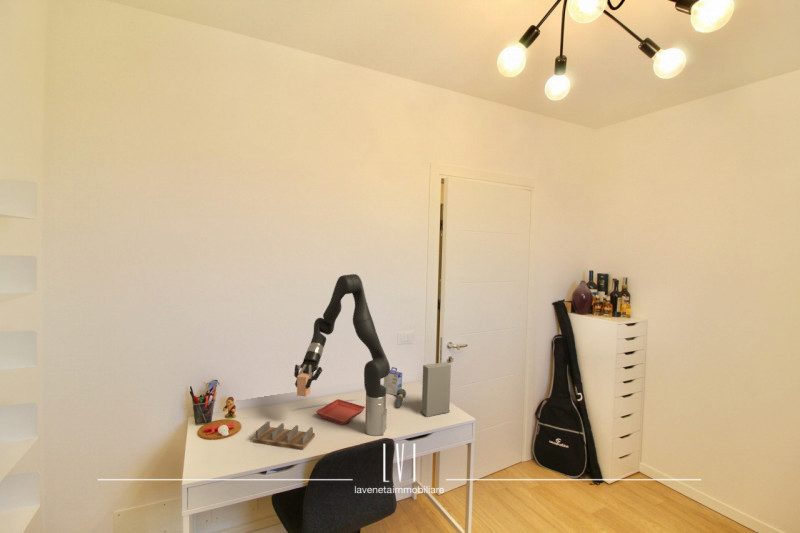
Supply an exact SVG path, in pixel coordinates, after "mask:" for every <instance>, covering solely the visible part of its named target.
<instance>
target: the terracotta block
mask: <svg viewBox="0 0 800 533" xmlns="http://www.w3.org/2000/svg"><path fill="white" fill-rule="evenodd" d="M308 379H309V374H304V373H303V374H300V375H299V376H297V378H296V380H297V387H296V396H298V397H305V398H306V397H307V396H309V395H310V394H311V386H310V387H309V388H308V389H307V388H306V384H307V381H308Z"/></svg>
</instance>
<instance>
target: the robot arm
mask: <svg viewBox="0 0 800 533" xmlns="http://www.w3.org/2000/svg"><path fill="white" fill-rule="evenodd" d="M350 294H352V298H353V301H354V310H353V315H352V325H353V328H354V330H355V333H356V336H357V337H358V339H359V340H360V341H361V342H362V343H363V344H364V345H365V346H366V348H367V349H368V351H369V353H370V357H371V359H372V360H369V361H367V362H366V363H365V365H364V369H363V378H364V380H363V382H364V383H363V384H364V390H365V415H364V417H365V421H364V422H365V425H364V429H365V430H364V431H365V433H366V435H369V436H375V437H376V436H383V435H384V434H385V433H386V430H387V413H388V411H387V410H388V409H387V403H386V402H387V393H386V388H385V387H384V385H382V384H381V379H384V377H386V376H388V374H389V372H390V370H391V367H390V363H389V361H388V357H387V355H386V354H385V351H384V349H383V346H382V344H381V341H380V338H379V336H378V334H377V329H376V326H375V324H374V323H375V322H374V320H373V317H372V315H371V312H370V309H369V305H368V302H367V298H366V295H365V289H364V286H363V281H362V279H361V277H360V276H359V275H358V274H356V273H353V274H343V275H340V276H339V277H338V278H337V281H336V283H335V286H334V289H333V292H332V294H331V297H330V302H329V303H328V305H327V307H326V309H325V311H324V313H323V315H322V317H318V318H316V319H315V321H314V323H313V335H312V338H311V340H310V343H309V346H308V347H307V350H306V352H305V355H304V358H303V361H302V363H301V364H299V365H298V364H295V367H294V373H293V376H294V377H295V379H296V380H295V383H294V385H295V388H297V376H299V375H300V374H303V373H304V374H309V379H308V381H307V384H306V388H307V389H308V388H309V387H310V388H311V385H312V382H313V381H317V380H318V378H319V377H320V375H321V374H322V373H323V368H322V367H321V366H319V364H320V361H321V357H322V355H323V352H324V347H325V344H326V342H327V337H326V336H325V335H327V336H329V335H331V334H333V333H334V329H335V323H336V320H337V318H338V317H339V315H340V313H341V312H342V299H343V298H344V297H345V296H346V295H350ZM314 372H315V373H314Z"/></svg>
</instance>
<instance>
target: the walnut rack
mask: <svg viewBox="0 0 800 533" xmlns="http://www.w3.org/2000/svg"><path fill="white" fill-rule="evenodd" d="M270 422H271V421H266V422H265V423H264V424H262V425H261V426H260V427H259V428H258V429H256V430H255V437H254V438H253V439H252V441H253V443H254V444H261V445H267V446H274V447H278V448H279V447H280V448H287V449H291V450H292V449H294V450H300V451H301V450H302V451H304V449H306V447H307V446H308V445H309V444H310V443H311V442H312V441H313V439H314V438H315V436H316V434H315V432H314V428H313V427H312V426H311V427H309V428H308V430H307V431H304V430H303V431H302V430H299V425H298V424H296V425H294V426H293V427H292V428H291V429H289V428H285V423H283V422H282V423H280V424H279V425H278V426H277V427H273V426H271V424H270Z"/></svg>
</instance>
